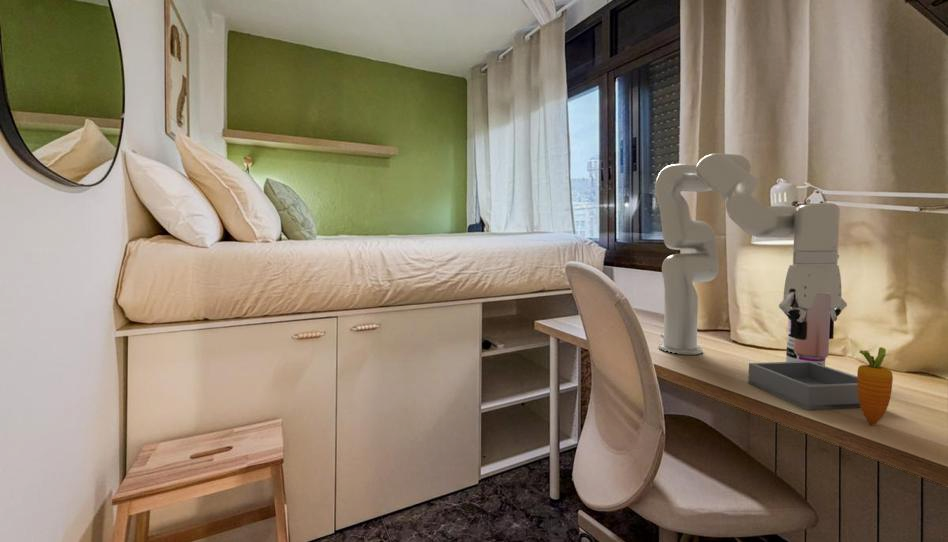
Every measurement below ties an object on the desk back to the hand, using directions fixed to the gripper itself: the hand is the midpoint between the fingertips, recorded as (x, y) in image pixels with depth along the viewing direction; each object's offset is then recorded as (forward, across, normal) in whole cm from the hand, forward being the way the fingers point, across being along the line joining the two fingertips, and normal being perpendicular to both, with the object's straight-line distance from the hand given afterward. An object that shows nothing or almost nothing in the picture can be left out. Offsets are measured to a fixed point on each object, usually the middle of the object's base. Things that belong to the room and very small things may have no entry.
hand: (811, 337), depth 87 cm
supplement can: (+13, -16, -17) cm, 27 cm away
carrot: (+14, +2, +15) cm, 20 cm away
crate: (+13, 0, 0) cm, 13 cm away
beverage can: (+5, 0, 0) cm, 5 cm away
